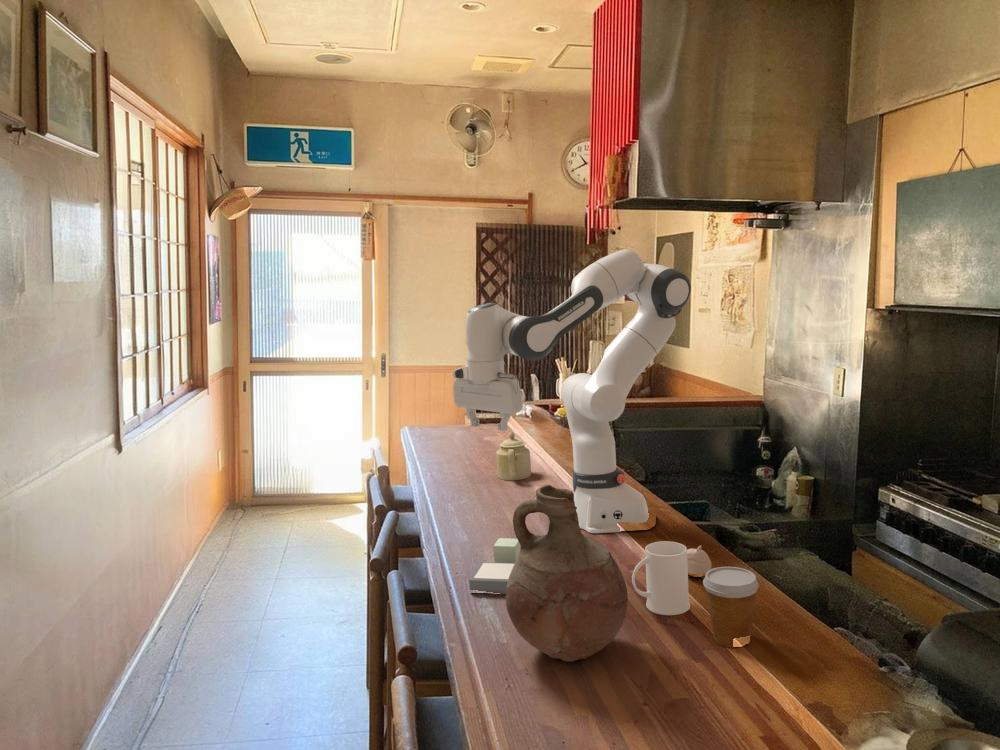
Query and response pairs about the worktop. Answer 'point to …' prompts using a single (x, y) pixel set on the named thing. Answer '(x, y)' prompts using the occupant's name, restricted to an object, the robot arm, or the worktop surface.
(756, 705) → the worktop surface
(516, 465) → the sugar bowl
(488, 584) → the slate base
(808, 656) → the worktop surface
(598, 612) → the jug
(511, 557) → the green block
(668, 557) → the mug
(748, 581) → the disposable coffee cup
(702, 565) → the garlic bulb
